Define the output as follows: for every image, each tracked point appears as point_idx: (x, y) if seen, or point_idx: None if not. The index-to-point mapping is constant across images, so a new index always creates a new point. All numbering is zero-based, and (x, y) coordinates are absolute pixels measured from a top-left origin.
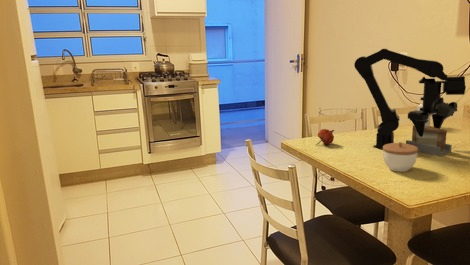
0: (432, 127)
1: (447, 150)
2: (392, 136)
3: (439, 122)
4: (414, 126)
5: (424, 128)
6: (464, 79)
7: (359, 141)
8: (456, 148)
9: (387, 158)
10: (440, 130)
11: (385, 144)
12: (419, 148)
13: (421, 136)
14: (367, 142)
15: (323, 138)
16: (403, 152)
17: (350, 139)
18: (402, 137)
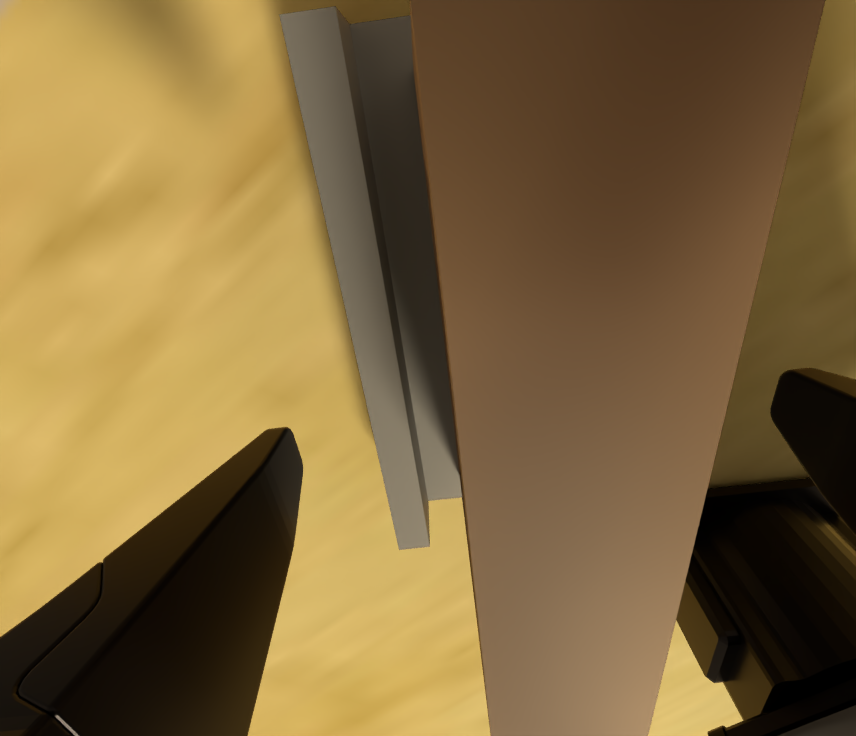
0: (487, 527)
1: (385, 39)
2: (810, 618)
3: (151, 662)
4: (647, 712)
5: (679, 560)
6: None
7: (708, 691)
8: (89, 161)
9: None
10: (728, 83)
11: (843, 539)
12: None
13: (809, 376)
14: (691, 661)
15: None
16: None
17: (704, 731)
18: (343, 656)
